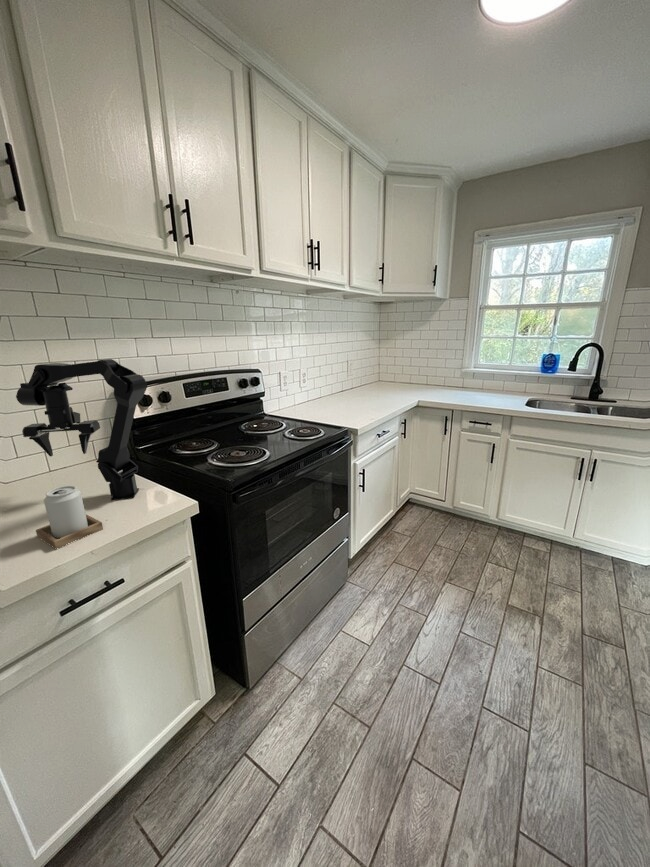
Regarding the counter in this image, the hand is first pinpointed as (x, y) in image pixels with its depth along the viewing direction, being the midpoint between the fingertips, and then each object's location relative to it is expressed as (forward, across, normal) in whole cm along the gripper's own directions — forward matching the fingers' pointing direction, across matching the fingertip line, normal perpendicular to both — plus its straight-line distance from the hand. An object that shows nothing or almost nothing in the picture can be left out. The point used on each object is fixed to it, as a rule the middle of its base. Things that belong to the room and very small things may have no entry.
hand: (68, 454), depth 110 cm
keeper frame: (+13, -9, +27) cm, 31 cm away
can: (+13, -9, +27) cm, 31 cm away
